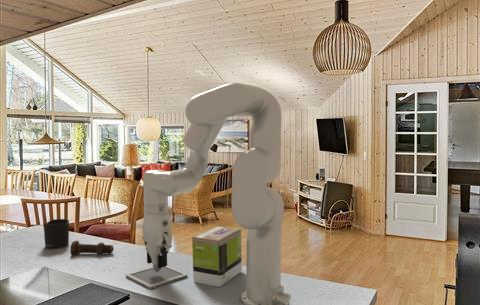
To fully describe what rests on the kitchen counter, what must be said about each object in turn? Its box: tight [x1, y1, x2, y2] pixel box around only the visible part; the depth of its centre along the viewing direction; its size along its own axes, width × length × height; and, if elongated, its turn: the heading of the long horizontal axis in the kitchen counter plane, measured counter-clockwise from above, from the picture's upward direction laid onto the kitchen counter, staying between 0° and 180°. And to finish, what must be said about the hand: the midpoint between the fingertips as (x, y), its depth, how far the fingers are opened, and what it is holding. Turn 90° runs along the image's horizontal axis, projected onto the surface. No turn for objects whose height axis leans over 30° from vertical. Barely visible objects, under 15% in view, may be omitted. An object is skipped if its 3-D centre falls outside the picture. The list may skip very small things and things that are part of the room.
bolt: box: [69, 240, 114, 257], centre depth 152 cm, size 6×5×15 cm
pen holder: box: [43, 218, 70, 250], centre depth 162 cm, size 9×9×10 cm
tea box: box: [191, 225, 243, 288], centre depth 128 cm, size 15×10×15 cm, turn 152°
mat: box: [125, 265, 188, 290], centre depth 129 cm, size 14×14×1 cm
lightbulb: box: [146, 242, 164, 272], centre depth 128 cm, size 6×6×11 cm
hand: (157, 264), depth 128 cm, fingers closed on lightbulb, 5 cm apart
